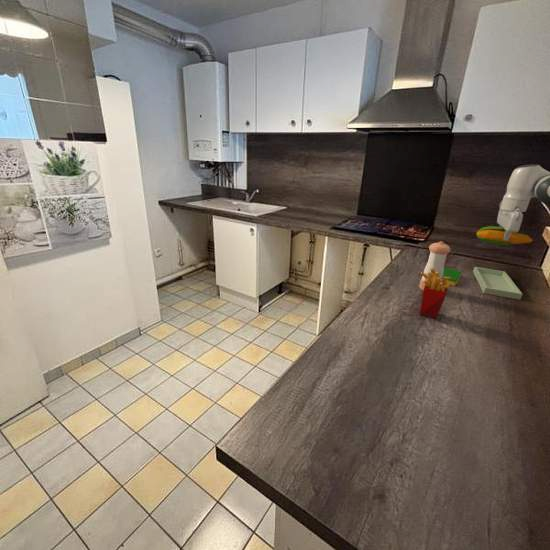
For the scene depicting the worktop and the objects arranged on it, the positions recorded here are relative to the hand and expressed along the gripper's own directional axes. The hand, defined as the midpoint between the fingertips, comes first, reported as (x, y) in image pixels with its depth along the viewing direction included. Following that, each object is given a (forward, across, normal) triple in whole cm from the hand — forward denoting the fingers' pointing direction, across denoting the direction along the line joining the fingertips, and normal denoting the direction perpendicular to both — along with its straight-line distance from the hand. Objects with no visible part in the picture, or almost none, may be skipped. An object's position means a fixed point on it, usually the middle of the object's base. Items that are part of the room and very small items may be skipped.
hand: (502, 237), depth 127 cm
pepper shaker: (+16, -35, +27) cm, 47 cm away
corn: (+3, 0, 0) cm, 3 cm away
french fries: (+16, -57, +28) cm, 65 cm away
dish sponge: (+16, -20, +19) cm, 32 cm away
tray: (+16, -16, +2) cm, 23 cm away
